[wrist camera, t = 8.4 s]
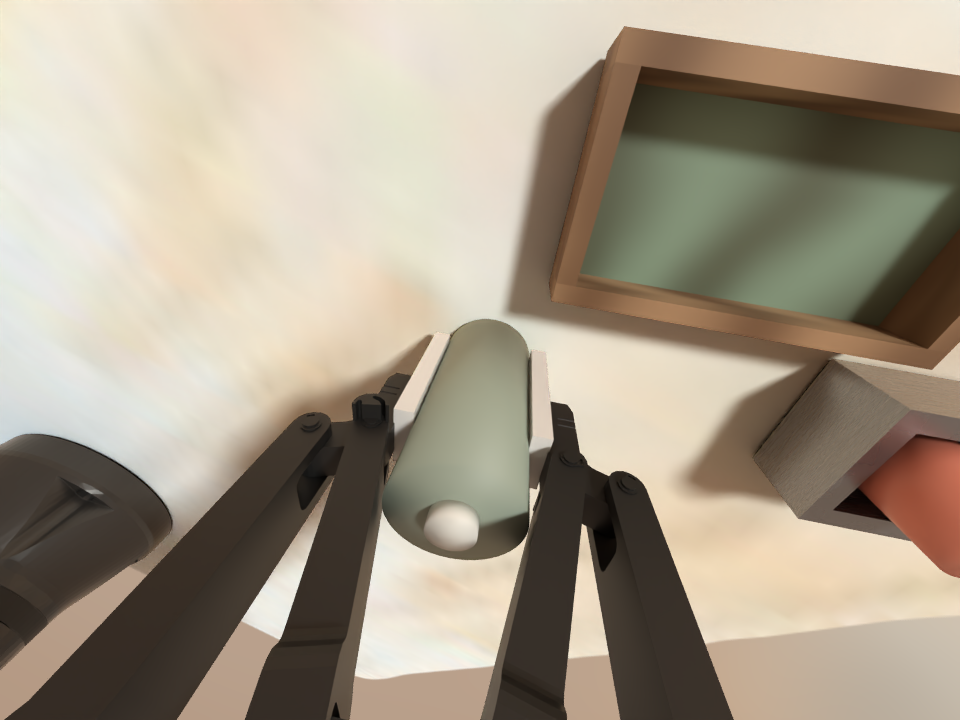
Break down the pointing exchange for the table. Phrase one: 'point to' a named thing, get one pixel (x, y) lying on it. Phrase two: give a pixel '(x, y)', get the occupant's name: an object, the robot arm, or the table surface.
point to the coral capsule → (923, 497)
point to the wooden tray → (770, 198)
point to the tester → (853, 439)
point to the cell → (468, 450)
